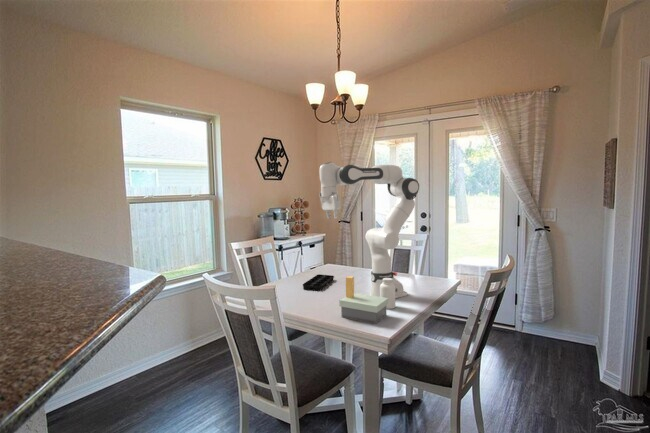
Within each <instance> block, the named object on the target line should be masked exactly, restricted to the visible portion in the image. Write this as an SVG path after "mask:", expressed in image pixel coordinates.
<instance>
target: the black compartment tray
mask: <svg viewBox="0 0 650 433" xmlns="http://www.w3.org/2000/svg"><path fill="white" fill-rule="evenodd" d="M334 278H335V276H334V275H330V274H316V275H314V276H313V277H312V278H310V279H308V280H307V281H305V282H304V283H303V284H302V287H303V290H304V291H305V290H306V291H311V290H312V291H317V292H319V291H322V290H323V289H325V287H327V286H328V285H330V284H331V283H332V282H334Z"/></svg>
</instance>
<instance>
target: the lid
mask: <svg viewBox="0 0 650 433" xmlns="http://www.w3.org/2000/svg"><path fill="white" fill-rule="evenodd" d="M338 301H339V302H338V304H339V307H340V308H341V307H347V308H352V309H358V310H363V311H369V312H375V313H377V312H379V311H380V310H381V309H382V308H384V307H385V306H386V305H388V298H384V297H378V296H371V295H369V294H364V293H357V292H355V276H349V275H348V276H346V277H345V296H344V297H343V298H340V299H339V300H338Z"/></svg>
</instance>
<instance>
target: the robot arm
mask: <svg viewBox="0 0 650 433" xmlns="http://www.w3.org/2000/svg"><path fill="white" fill-rule="evenodd" d="M318 170H319V172H318V173H319V181H320V192H319V198H320V205H321V209H322V210H323V211H325V214H326V217H327V219H332V214H331V211H333V219H335V220H336V219H338V218H339V217H338V216H339V210H341V209H342V202H341V198H340V195H339V190H338V186H346V185H354V184H356V183H358V182H359V181H367V180H369V181H371V182H372V184H376V185H386V186H387V191H388V193H389V194H390V195H391V196H393V197H397V199H396V202H395V203H394V205H393V206H392V207H391V209H390V210H389V211H388V212H387V214H386V215H385V217H384V225H383V226H382V228H379V227H373V228H370V229H368V230H367V231H366V233H365V236H364V238H365V241H366V242H367V244H368V248H369V250H370V257H371V272H370V278H371V279H370V280H371V285H370V289H369V294H368V295H371V296H378V297H380V285H381V284H382V282H383V278H392V279H393V283H392V284H394V285H395V299H398V298H403V297H407V296H408V294H409V293H408V292H407V291H405V290H404V285H403V283H402V282H400V281H399V280H398V279H397V278H395V277H397V275H398V273H397V272H395V271H392V259H391V256H390V254H389V252H388V250H394V249H395V248H397V247H398V245H399V242H400V240H399V239H400V238H399V235H400V232H401V229H402V228H403V225H404V224H405V223H406V221H407V220H408V218H410V215H411V214H412V213H413V210H414V208H415V206H416V202H415V200H414V199H415V198H416V197H417V195H418V193H419V191H420V183H419V181H418V180H417V179H416V178H413V177H404V176H403V170H402V168H401V167H400V166H399V165H394V164H378V165H374V166H372V167H359V166H356V165H354V164H347V165H345V166H339V165H337V164H335V163H334V162H333V161H329V162H325V163H323V164H320V167H319V169H318Z"/></svg>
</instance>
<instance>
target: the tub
mask: <svg viewBox="0 0 650 433" xmlns="http://www.w3.org/2000/svg"><path fill="white" fill-rule="evenodd" d="M340 308H341V318H345V319H350V320H355V321H359V322H363V323H364V322H365V323H369V324H378V323H379V322H380V321H381V320H383V319H384V318H385V317H386V316H387V309H386V306H385V307H384V308H382V309H381V310H380V311H379V312H377V313H375V312H369V311H363V310H358V309H352V308H347V307H341V306H340Z"/></svg>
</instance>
